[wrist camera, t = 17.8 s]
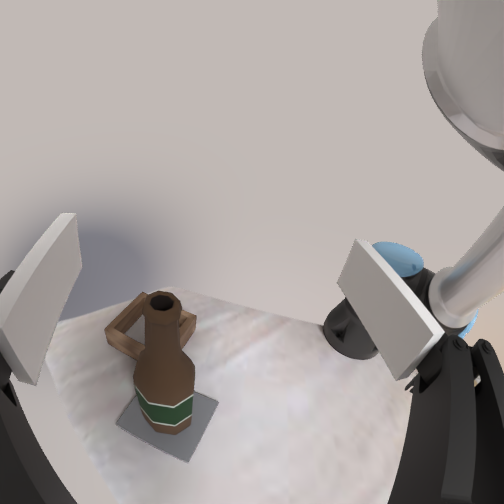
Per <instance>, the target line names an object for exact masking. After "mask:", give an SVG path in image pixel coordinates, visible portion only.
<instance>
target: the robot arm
mask: <svg viewBox="0 0 504 504" xmlns="http://www.w3.org/2000/svg"><path fill="white" fill-rule="evenodd" d="M422 61H423V69H424V74H425V79H426V82H427V86H428V89H429V91H430V93H431V96H432V98H433V100H434V102H435V103H436V105H437V107H438V108H439V109H440V111H441V113H442V114H443V115H444V117H445V118H446V120H447V121H448V122H449V123H450V124H451V125H452V127H453V128H454V129H456V131H457V132H458V133H459V134H460V135H461V136H462V137H463V138H464V139H465V140H466V141H467V142H468V143H469V144H470V145H471V146H473V147H474V148H475V149H476V150H477V151H478V152H479V153H480V154H482V155H483V156H484V157H485V158H486V159H488V160H489V161H490V162H492V163H493V164H494V165H495V166H497V167H498V168H500V169H501V170H502V171H504V0H438V17H437V18H436V19H435V20H434V21H433V22H432V24H431V25H430V26H429V28H428V30H427V32H426V34H425V38H424V41H423V49H422ZM76 220H77V218H76V214H73V213H61V214H60V215H59V216H58V217H57V219H56V220H55V221H54V222H53V223H52V224H51V225H50V227H49V228H48V229H47V230H46V232H45V233H44V234H43V235H42V236H41V238H40V239H39V240H38V241H37V243H36V244H35V245H34V247H33V248H32V249H31V250H30V252H29V253H28V254H27V256H26V257H25V259H24V260H23V261H22V263H21V264H20V265H19V267H18V268H17V270H16V271H12V270H11V271H10V272H8V273H7V274H6V275H5V276H3V277H2V278H1V279H0V504H77V502H76V501H75V500H74V499H73V497H72V496H71V494H70V493H69V492H68V490H67V489H66V487H65V486H64V484H63V483H62V482H61V480H60V479H59V477H58V476H57V474H56V472H55V471H54V469H53V468H52V466H51V464H50V463H49V461H48V459H47V457H46V456H45V454H44V452H43V451H42V449H41V447H40V445H39V443H38V441H37V439H36V437H35V435H34V434H33V431H32V429H31V427H30V425H29V423H28V421H27V419H26V417H25V414H24V412H23V410H22V407H21V405H20V402H19V400H18V397H17V395H16V392H15V390H14V387H13V385H12V383H11V381H10V380H9V378H10V375H11V372H13V373H14V375H15V376H16V378H17V379H18V380H19V381H21V382H24V383H27V384H31V385H34V386H36V385H37V382H38V378H39V375H40V371H41V368H42V365H43V362H44V359H45V356H46V353H47V350H48V347H49V344H50V341H51V339H52V336H53V333H54V330H55V328H56V325H57V323H58V320H59V318H60V315H61V313H62V310H63V308H64V306H65V303H66V301H67V299H68V296H69V294H70V292H71V290H72V288H73V285H74V283H75V281H76V279H77V277H78V275H79V273H80V271H81V269H82V261H81V253H80V246H79V238H78V229H77V221H76ZM423 263H424V262H423V259H422V257H421V256H420V255H419V254H418V253H415V252H414V251H413V250H412V249H410V248H408V247H405V246H403V245H400V244H397V243H392V242H378V243H375V244H373V245H372V246H371V244H370V243H369V242H368V241H366V240H358V239H355V241H354V244H353V246H352V249H351V251H350V254H349V256H348V258H347V261H346V263H345V265H344V268H343V270H342V272H341V275H340V277H339V279H338V282H337V284H338V285H339V287H340V288H341V290H342V291H343V293H344V295H345V296H346V297H345V299H344V300H343V301H342V302H341V303H340V304H338V305H337V307H335V308H334V309H333V310H332V311H331V312H330V313H329V315H328V316H327V318H326V320H325V322H324V327H323V329H324V334H325V336H326V338H327V340H328V342H329V343H330V344H331V345H332V346H333V347H334V348H335V349H336V350H337V351H338V352H340V353H341V354H343V355H345V356H347V357H350V358H353V359H359V360H365V359H370V358H372V357H374V356H376V355H377V354H378V352H380V354H381V356H382V357H383V359H384V361H385V363H386V364H387V366H388V368H389V370H390V371H391V373H392V375H393V377H394V379H395V380H396V381H397V380H400V379H404V378H407V377H409V375H410V374H411V373H412V372H413V371H414V370H415V369H417V370H418V372H419V373H418V374H417V375H416V376H415V377H414V378H413V379H412V381H411V382H410V383H409V384H408V385H407V386H406V388H405V390H406V391H407V390H408V389H409V388H410V387H411V386H414V387H413V388H412V389H411V390H410V391H409V392H411V393H413V395H412V403H411V410H410V416H409V422H408V427H407V433H406V438H405V443H404V447H403V452H402V456H401V460H400V464H399V468H398V471H397V475H396V478H395V482H394V485H393V488H392V492H391V495H390V498H389V501H388V504H504V373H503V371H502V368H501V365H500V363H499V360H498V358H497V355H496V353H495V351H494V349H493V347H492V346H491V344H490V343H489V342H488V341H486V340H484V339H479V340H478V341H477V342H476V344H475V345H474V346H473V347H470V346H468V344H467V343H466V342H465V341H464V340H463V338H464V337H465V334H466V333H468V332H469V331H470V330H471V328H472V326H473V324H474V322H475V320H476V317H477V314H478V308H480V307H481V306H483V305H485V304H486V303H487V302H489V301H491V300H492V299H494V298H495V297H497V296H498V295H499V294H501V293H502V292H503V291H504V207H503V208H502V210H501V211H500V212H499V213H498V215H497V216H496V217H495V219H494V220H493V221H492V223H491V224H490V225H489V226H488V228H487V229H486V230H485V231H484V233H483V234H482V235H481V236H480V237H479V239H478V240H477V241H476V242H475V243H474V245H473V246H472V247H471V248H470V249H469V250H468V251H467V253H466V254H465V255H464V256H463V257H462V258H461V259H460V260H459V262H458V263H457V264H456V265H455V266H454V267H446V268H443V269H441V270H440V271H438V273H436V274H435V273H433V272H432V271H430V270H428V269H426V268H424V267H423ZM478 376H480V380H481V381H480V382H479V383H478V384H477V385H476V386H475V387H474V380H475V379H476V378H477V377H478Z"/></svg>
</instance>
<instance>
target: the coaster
mask: <svg viewBox="0 0 504 504" xmlns="http://www.w3.org/2000/svg"><path fill="white" fill-rule="evenodd" d="M218 404H219V402H218V401H215V400H213V399H210V398H208V397H205V396H203V395H201V394H198V393H196V392H194V393H193V406H192V420H191V425H190V426H189V427H187V428H186V429H184V430H183V431H181V432H180V433H178V434H177V435H171V434H164V433H158V432H155V430H154V429H153V428H152V427H151V426H150V424H149V423H148V422H147V421H146V420H145V418H144V416H143V414H142V411H141V408H140V405H139V401H138V397H137V395H136V396H135V398H134V399H133V400H132V402H131V403H130V405H129V406H128V407H127V409H126V410H125V412H124V413H123V414H122V416H121V417H120V418H119V420H118V421H117V423H116V425H117V426H118V427H120V428H121V429H123V430H125V431H126V432H128V433H130V434H131V435H133V436H135V437H136V438H138V439H140V440H142V441H144V442H145V443H147V444H149V445H151V446H153V447H155V448H157V449H159V450H161V451H163V452H165V453H167V454H169V455H171V456H173V457H175V458H177V459H179V460H181V461H184V462H186V463H189V461H190V459H191V457H192V455H193V453H194V451H195V450H196V448H197V446H198V444H199V442H200V440H201V438H202V436H203V434H204V432H205V430H206V428H207V426H208V424H209V422H210V420H211V418H212V416H213V414H214V412H215V410H216V408H217V406H218Z"/></svg>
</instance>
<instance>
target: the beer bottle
mask: <svg viewBox="0 0 504 504" xmlns="http://www.w3.org/2000/svg"><path fill="white" fill-rule="evenodd" d="M181 310H182V306H181V303H180V301H179V300H178V299H177V298H176V297H175V296H174V295H173V294H172V293H169V292H163V291H157V292H154V293H152V294H149V295H147V296H146V299H145V302H144V304H143V308H142V311H141V313H142V314H143V315H144V316H145V349H144V350H142V351H141V352H140V354H139V356H138V359H137V363H136V367H135V371H134V375H133V379H134V386H135V390H136V394H137V397H138V401H139V405H140V408H141V411H142V414H143V416H144V418H145V420H146V421H147V422H148V423H149V424H150V426H151V427H152V428H153V429H154V430H155V432H158V433H164V434H171V435H177V434H178V433H180V432H181V431H183V430H184V429H186V428H187V427H189V426H190V425H191V420H192V406H193V393H194V381H195V366H194V364H193V362H192V361H191V359H190V358H189V357H188V356H187V355H186V354H185V353H184V352H183V351H182V349H181V345H180V331H179V319H180V316H181Z"/></svg>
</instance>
